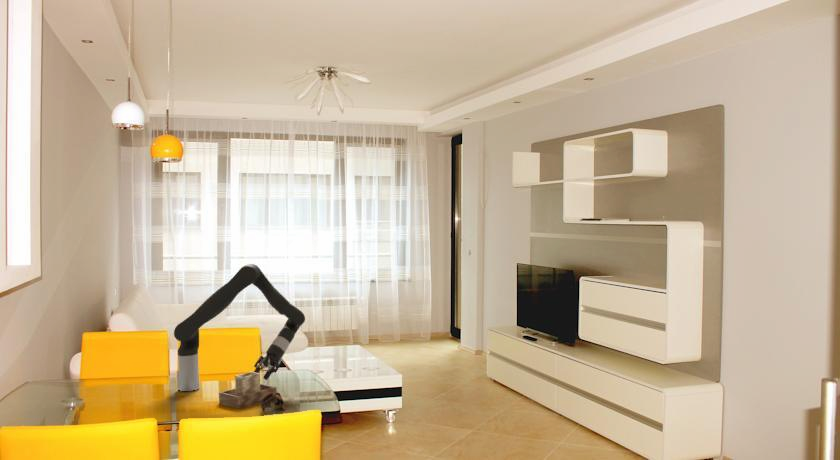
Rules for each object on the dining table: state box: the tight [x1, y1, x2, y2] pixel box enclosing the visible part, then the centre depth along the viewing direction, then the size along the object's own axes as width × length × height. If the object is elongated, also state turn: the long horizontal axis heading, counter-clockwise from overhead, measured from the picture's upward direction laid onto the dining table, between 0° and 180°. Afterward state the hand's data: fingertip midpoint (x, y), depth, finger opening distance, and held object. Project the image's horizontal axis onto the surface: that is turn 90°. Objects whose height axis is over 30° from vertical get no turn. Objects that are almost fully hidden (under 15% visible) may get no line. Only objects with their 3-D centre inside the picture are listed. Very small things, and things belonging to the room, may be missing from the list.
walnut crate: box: [218, 383, 278, 410], centre depth 290 cm, size 20×15×5 cm
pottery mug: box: [259, 392, 287, 411], centre depth 276 cm, size 12×10×8 cm
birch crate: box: [234, 371, 261, 397], centre depth 290 cm, size 9×6×11 cm, turn 140°
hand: (259, 377), depth 295 cm, fingers open, 8 cm apart
